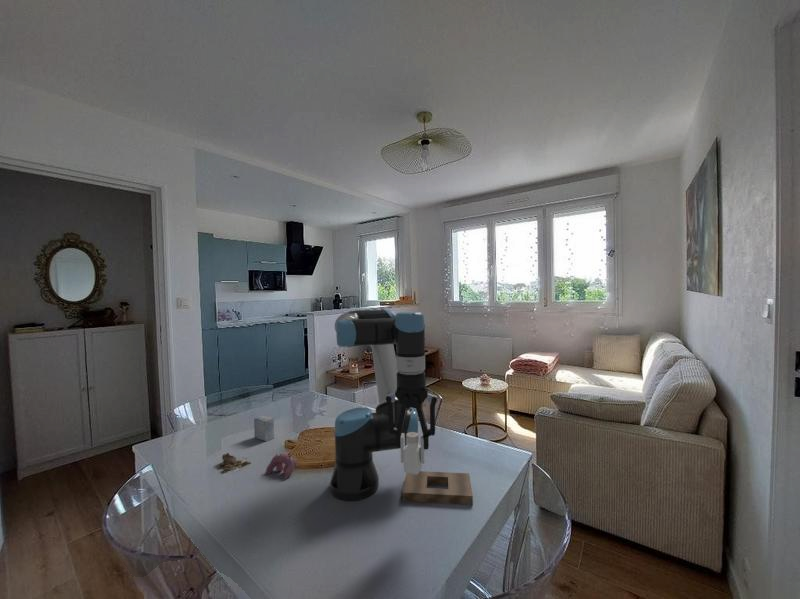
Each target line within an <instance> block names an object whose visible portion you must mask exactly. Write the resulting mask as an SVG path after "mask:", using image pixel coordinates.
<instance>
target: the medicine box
mask: <svg viewBox="0 0 800 599" xmlns="http://www.w3.org/2000/svg"><path fill="white" fill-rule="evenodd" d="M253 423H254V424H253V430H254V432H253V434H254V438H255V439H257V440H260V441H264V442H268V441H270V440H272V439H274V438H275V420H274V417H271V416H266V415H264V414H263V415H259V416H257V417H255V418H253Z"/></svg>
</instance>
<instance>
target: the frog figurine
mask: <svg viewBox="0 0 800 599" xmlns="http://www.w3.org/2000/svg"><path fill="white" fill-rule="evenodd" d="M221 459H222V462H220V463H219V465H218V466H219V467H218V468H222V470H223V473H227V472H228V473H231V470H232V469H234V471H233V473H236V472H239V471H241V470H242V468H247V467H249V466H250V465H252V462H251V461H252V460H251V459H248V458H245V457H240V458H239V459H240V460H237V457H236V456H234V455H231V454H230V453H229V452H226V454H225V453H224V454H222V456H221ZM241 459H245V461H244V460H241ZM224 464H225V465H224ZM222 466H223V467H224V468H223V467H222ZM246 466H247V467H246Z"/></svg>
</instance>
